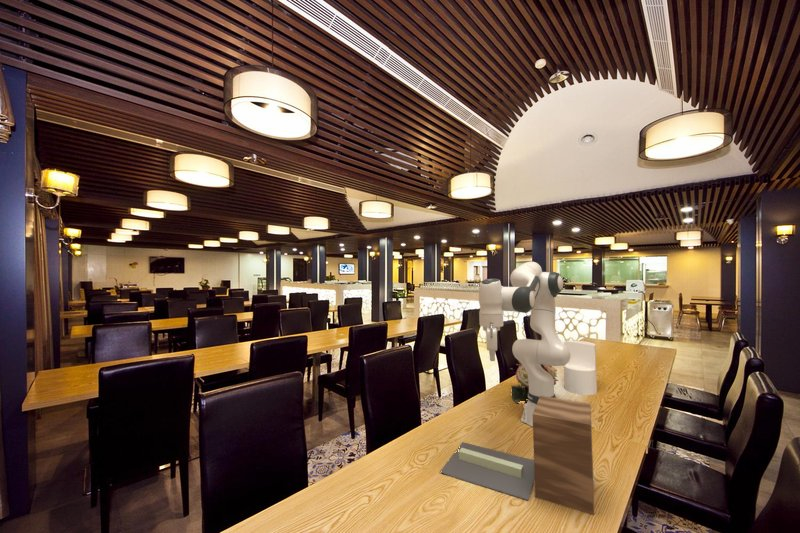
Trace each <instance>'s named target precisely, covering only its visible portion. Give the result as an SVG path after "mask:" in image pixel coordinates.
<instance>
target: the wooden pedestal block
mask: <svg viewBox="0 0 800 533" xmlns="http://www.w3.org/2000/svg"><path fill="white" fill-rule="evenodd" d="M591 406H592V405H591V403H589V402H582V401H577V400H569V399H563V398H559V397H558V398H557V397H556V398H552V397H545V396H540V397H539V400H538V402H537V405H536V407H535V409H534V412H533V427H532V438H533V460H534V477H535V479H534V498H537V499H540V500H544V501H547V502H550V503H554V504H556V505H559V506H563V507H566V508H570V509H572V510H576V511H579V512H582V513H586V514H589V515H593V516H594V515H595V503H594V502H595V500H594V496H595V495H594V492H595V491H594V488H595V487H594V486H595V485H594V457H593V456H594V454H593V433H592V432H593V431H592V407H591Z"/></svg>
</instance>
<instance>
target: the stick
mask: <svg viewBox="0 0 800 533" xmlns="http://www.w3.org/2000/svg"><path fill="white" fill-rule="evenodd" d="M459 459H460V460H463V461H466V462H470V463H473V464H476V465H479V466H483V467H486V468H489V469H492V470H495V471H499V472H502V473H505V474H508V475H512V476H515V477H518V478H522V476H523V465H520V464H517V463H513V462H510V461H506V460H503V459H499V458H496V457H492V456H489V455H485V454H482V453H479V452H475V451H472V450H468V449H465V448H461V449H460V450H459Z"/></svg>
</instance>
